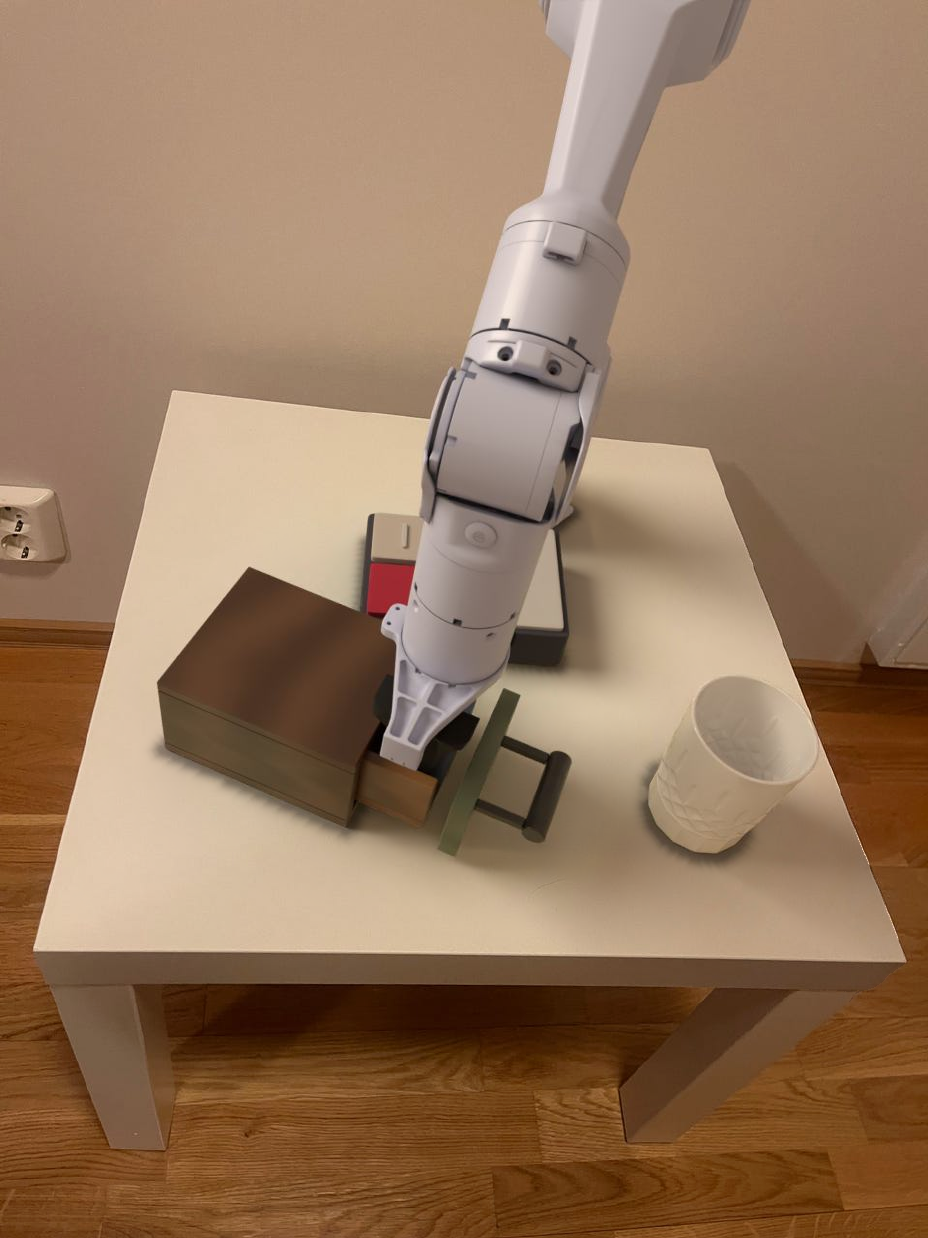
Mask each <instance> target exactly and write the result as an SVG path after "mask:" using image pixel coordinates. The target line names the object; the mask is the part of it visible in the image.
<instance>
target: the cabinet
mask: <svg viewBox="0 0 928 1238" xmlns="http://www.w3.org/2000/svg"><path fill="white" fill-rule="evenodd" d="M381 626H382V621H381V620H379V619H376V618H374V617H371V616H369V615H367V614H364V613H362V612H360V610H357V609H355V608H352V607H350V606H347V605H344V604H342V603H339V602H337V601H335V600H332V599H330V598H327V597H325V596H322V595H319V594H318V593H315V592H312V591H310V590H307V589H305V588H303V587H301V586H297V585H295V584H293V583H291V582H288V581H285V580H283V579H282V578H278V577H276V576H274V575H271V574H268V573H265V572H263V571H261V570H258V569H256V568H254V567H252V566H248V567H247V568H246V570H245V571H244V572H243V573H242V575H241V576H240V577H239V578H238V579H237V581H236V582H235V583H234V584H233V585H232V587H231V589H229V591H228V592H227V593H226V595H225V596H223V598H222V600H220V602H219V603H218V604H217V606H216V607H215V608H214V610H213V611H212V612H211V613H210V615H209V616H208V617H207V619H206V620H205V621H204V622H203V623H202V625H201V626H200V627H199V628H198V630H196V632H195V633H194V635H193V636H192V637H191V639H190V640H189V641H188V642H187V644H186V645H185V646H184V647H183V648H182V650H181V651H180V652H179V654H177V656H176V657H175V659H174V660H173V661H172V662H171V663H170V665H169V666H168V667H167V668H166V670H165V671H164V672H163V674H162V675H161V676H159V677H160V678H158V680H156V689H157V695H158V703H159V711H160V719H161V726H162V734H163V742H164V748H165V749H166V750H168V751H170V752H172V753H175V754H177V755H180V756H182V757H184V758H185V759H189V760H191V761H192V762H193V761H194V762H195V763H197V764H200V765H202V766H205V767H207V768H209V769H211V770H213V771H216V772H219V773H220V774H222V775H225V776H227V777H230V778H231V779H235V780H237V781H239V782H241V783H243V784H246V785H249V786H250V787H253V788H255V789H257V790H260V791H262V792H264V793H267V794H269V795H271V796H273V797H276V798H278V799H281V800H283V801H285V802H287V803H290V804H291V805H294V806H296V807H298V808H301V809H303V810H306V811H307V812H310V813H312V814H315V815H317V816H319V817H322V818H324V819H325V820H329V821H331V822H333V823H335V824H337V825H340V826H342V827H344V828H346V827H348V824H349V823H350V820H351V819H352V818H353V817H352V816H353V815H354V813H355V811H356V809H357V807H358V806H359V803H360V802H358V801H356V800H354V797H355V791H356V785H357V779H358V773H359V767H360V763H361V762H362V760H363V758H364V756H365V754H366V752H367V750H368V749H369V747H370V745H371V743H372V741H373V739H374V738H375V736H376V734H377V732H378V730H379V728H380V727H381V725H382V722H381V721H380V720H379V719H378V718H376V717H375V716H374V714H373V700H374V696H375V693H376V691H377V689H378V688H379V686H380V684H381V682H382V681H383V679H384V677H385V675H386V674H389V675H392V676H394V675H395V661H396V643H395V641H394V640H392V639H390V638H388V637H386V636H384V635H383V634H382V632H381Z"/></svg>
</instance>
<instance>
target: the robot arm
mask: <svg viewBox="0 0 928 1238" xmlns="http://www.w3.org/2000/svg"><path fill="white" fill-rule="evenodd" d="M537 2H538V6H539V8H540V10H541V13H542V14H543V20H544V23H545V25H546V28H545V36H546V37H547V39H548V40H549V41H550V42H551V43H552V44H553V45H554V46H556V47H557V48H558V49H559V51H561V52H562V53H563V54H565V56H566V57H567V58H568V59H570V60H571V61H570V66H569V71H568V75H567V80H566V84H565V89H564V93H563V98H562V103H561V108H560V113H559V117H558V122H557V126H556V131H555V135H554V140H553V145H552V148H551V149H552V150H551V155H550V159H549V164H548V168H547V173H546V177H545V182H544V188H543V192H542V194H540V196H538V197H537V198H535V199H533V200H531V201H530V202H528V203H524V204H522V205H521V206H519V207H518V208H516V209H515V210H514V211H513V212H511V214H509V216H508V217H507V218H506V220H505V222H504V225H503V229H502V232H501V236H500V239H499V241H498V245H497V248H496V251H495V254H494V257H493V261H492V264H491V267H490V271H489V274H488V277H487V280H486V282H485V287H484V289H483V293H482V296H481V300H480V303H479V306H478V308H477V309H478V310H477V313H476V316H475V318H474V322H473V324H472V325H473V326H472V329H471V332H470V335H469V339H468V341H467V345H466V349H465V351H464V355H463V358H462V361H461V365H460V367H459V370H458V371H457V367H455V366H450V368H448V371H447V373H446V375H445V376H444V379H443V380H442V383H441V385H440V388H439V390H438V393H437V395H436V398H435V402H434V404H433V407H432V411H431V414H430V418H429V421H428V426H427V430H426V434H425V439H424V444H423V449H422V456H421V477H420V478H421V479H420V488H421V500H420V506H419V511H418V516H419V517H421V518H423V520H424V524H423V529H422V534H421V539H420V544H419V549H418V554H417V560H416V565H415V570H414V575H413V580H412V585H411V590H410V596H409V601H408V606H405V605H403V604H394V605H392V606H391V607H390V609H389V611H388V612H387V614H386V616H385V617H384V619H383V621H382V626H381V632H382V634H383V635H384V636H386V637H388V638H390V639H392V640H394V641H395V643H396V661H395V675H394V676H392V675H389V674H386V675H385V677H384V679H383V681H382V682H381V684H380V686H379V688H378V689H377V691H376V693H375V696H374V700H373V714H374V716H375V717H376V718H378V719H379V720H380V721H381V722H382V723H383V724H384V725H385V726H386V728H387V729H386V731H385V733H384V737H383V742H382V747H381V752H380V756H381V757H383V758H386V759H388V760H390V761H392V762H394V763H397V764H399V765H401V766H405V767H407V768H409V769H412V770H414V771H416V770H417V771H420V772H422V773H424V774H427V775H429V774H430V773H432V772H433V771H434V770H435V768H436V767H437V766H438V764H439V763H440V762H441V760H442V759H443V757H444V756H445V755H446V754H448V753H450V752H453V751H458V752H460V751H462V750H463V749H464V748H465V747H466V746H467V745H468V744H469V743H470V741H471V739H472V738H473V736H474V733H475V731H476V729H477V727H478V726H479V723H480V720H481V718H480V717H479V716H476V715H474V714H472V715H471V714H469V713H467V712H464V711H463V710H464V709H466V708H467V707H468V706H469V705H470V704H471V703H473V702H474V701H475V700H476V699H477V700H478V698H479V697H481V696H482V695H483V694H484V693H485V692H487V691H488V690H489V689H490V688H491V687H492V686H493V685H495V684H496V683H497V682H498V681H499V679H501V677H502V676H503V674H504V673H505V671H506V669H507V665H508V663H509V661H508V660H509V656H510V651H511V649H512V647H513V645H514V642H515V639H516V632H515V628H516V625H517V622H518V619H519V616H520V613H521V610H522V607H523V604H524V601H525V598H526V596H527V593H528V590H529V587H530V584H531V581H532V578H533V575H534V572H535V569H536V566H537V563H538V560H539V557H540V554H541V551H542V548H543V545H544V542H545V539H546V536H547V533H548V531H549V529H555V527H557V526H558V525H559V524H560V523H562V522H563V521H564V520H566V519H567V518H568V517H570V516H571V515H572V514H573V512H574V507H573V506H572V505H571V502H572V499H573V497H574V495H575V492H576V489H577V486H578V483H579V481H580V477H581V474H582V471H583V469H584V464H585V462H586V458H587V454H588V452H589V447H590V444H591V441H592V437H593V434H594V433H593V432H594V429H595V425H596V421H597V419H598V416H599V412H600V409H601V406H602V403H603V399H604V396H605V392H606V387H607V385H608V384H607V383H608V379H609V375H610V370H611V367H612V363H613V358H612V355H611V353H612V352H611V351H612V349H611V347H610V345H609V344H608V343H607V342H608V339H609V335H610V332H611V329H612V325H613V322H614V318H615V315H616V311H617V308H618V304H619V300H620V297H621V294H622V290H623V288H624V283H625V280H626V276H627V273H628V270H629V267H630V264H631V247H630V245H629V242H628V240H627V237H626V236H625V234H624V232H623V230H622V228H621V227H620V225H619V223H618V218H619V215H620V212H621V208H622V205H623V202H624V199H625V196H626V193H627V189H628V187H629V183H630V180H631V177H632V173H633V170H634V168H635V165H636V163H637V160H638V158H639V155H640V152H641V150H642V148H643V145H644V143H645V140H646V137H647V135H648V132H649V130H650V127H651V124H652V122H653V120H654V116H655V114H656V111H657V109H658V107H659V103H660V102H661V98H662V96H663V93H664V91H665V90H666V89H667V88H671V87H675V86H682V85H686V84H692V83H698V82H701V81H704V80H705V79H706V78H707V77H709V75H711V74H712V72H713V71H714V70H716V69H717V68H718V67H719V66H720V65H721V64H722V63H724V61H725V60H727V59H728V58H729V57H730V55H731V54H732V51H733V50H734V47H735V44H736V42H737V40H738V37H739V35H740V33H741V30H742V27H743V25H744V21H745V19H746V16H747V13H748V11H749V7H750V5H751V2H752V0H538V1H537Z"/></svg>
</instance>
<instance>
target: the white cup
mask: <svg viewBox="0 0 928 1238" xmlns="http://www.w3.org/2000/svg"><path fill="white" fill-rule="evenodd" d="M819 755H820V740H819V735H818V732H817V728H816V726H815V724H814V723H813V720H812V719H811V717H810V716H809V713H808V712H807V711H806V710H805V708H804V707H803V706H802V705H801V704H800V702H798V700H796V699H795V698H794V697H793V696H792V695H791V694H790V693H788V692H787V691H785V690H784V689H782V688H781V687H779V686H777V685H776V684H774V683H772V682H770V681H769V680H766V679H763V678H760V677H757V676H755V675H754V676H753V675H749V674H743V673H725V674H720V675H717V676H714V677H712V678H710V679H708V680H706V681H705V682H704V683H702V684H701V685H700V687H698V689H697V691H696V692H695V693H694V696H693V698H692V699H691V702H690V703H689V705H688V707H687V709H686V711H685V712H684V714H683V716H682V718H681V720H680V721H679V723H678V725H677V727H676V729H675V731H674V732H673V734H672V737H671V739H670V741H669V743H668V745H667V748H666V749H665V751H664V753H663V755H662V758H661V761H660V763H659V766H658V769H657V771H656V772H655V774H654V775H653V778H652V779H651V781H650V783H649V785H648V786H649V787H648V797H647V798H648V801H647V805H648V808H649V811H650V813H651V815H652V818H653V820H654V822H655V824H656V826H657V827H658V828H659V829H660V830H661V832H663V834H664V835H666V836H667V838H668V839H670V840H671V841H672V842H673V843H675V844H677V845H679V846H681V847H683V848H684V849H687V850H689V851H691V852H694V853H705V854H718V853H720V852H723V851H725V850H727V849H729V848H731V847H734V846H735V845H736V844H737V843H738V842H739V841H740V840H741V839H742V838H743V837H744V836H745V835H746V834H747V833H748V832H749V831H750V830H752V829H753V828H755V827H756V826H757V825H758V824H760V822H761V821H762V820H763V819H764V818H765V817H766V816H768V815H769V814H770V813H771V812H773V810H774V809H775V808H776V807H777V806H778V805H779V804H780V803H781V802H782V801H783V800H784V799H785V798H786V797H787V796H788V795H790V793H791V792H792V791H793V790H794V789H795V788H796V787H798V785H800V783H801V782H802V781H803V780H805V778H806V777H808V775H810V773H811V772H812V771H813V770H814V768H815V766H816V764H817V762H818V761H819V757H820V756H819Z"/></svg>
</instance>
